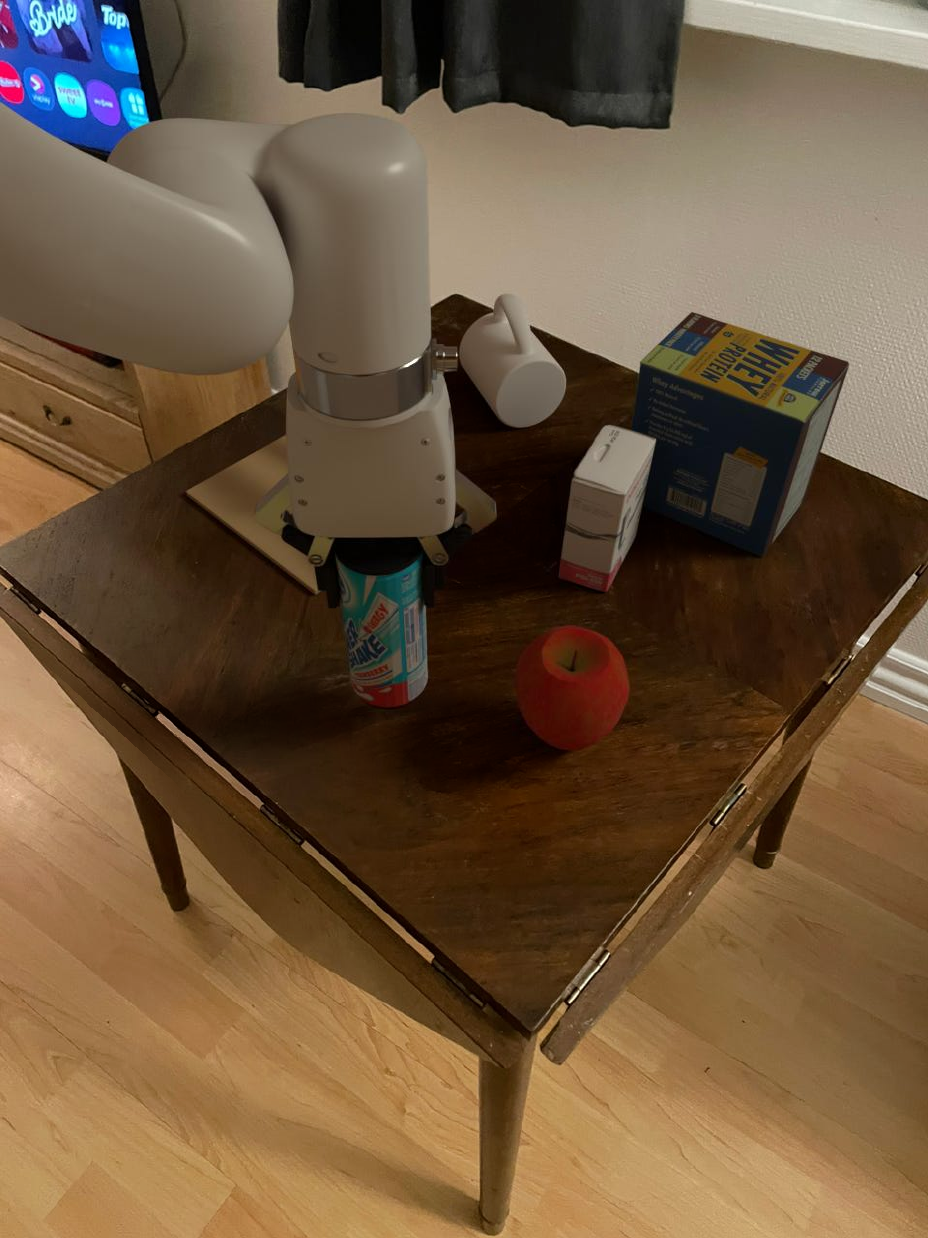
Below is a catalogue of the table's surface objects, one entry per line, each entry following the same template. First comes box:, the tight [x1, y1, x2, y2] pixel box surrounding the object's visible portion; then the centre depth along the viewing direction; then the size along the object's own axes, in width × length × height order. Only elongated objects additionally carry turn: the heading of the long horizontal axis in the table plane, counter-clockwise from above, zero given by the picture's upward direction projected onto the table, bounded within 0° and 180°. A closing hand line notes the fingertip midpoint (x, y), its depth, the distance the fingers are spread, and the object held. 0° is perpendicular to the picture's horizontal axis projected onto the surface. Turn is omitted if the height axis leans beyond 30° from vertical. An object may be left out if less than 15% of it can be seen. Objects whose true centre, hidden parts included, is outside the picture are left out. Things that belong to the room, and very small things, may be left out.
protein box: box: [630, 311, 850, 558], centre depth 86 cm, size 10×15×16 cm
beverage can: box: [334, 537, 429, 711], centre depth 67 cm, size 6×6×15 cm
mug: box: [458, 293, 567, 429], centre depth 99 cm, size 8×10×12 cm
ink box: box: [558, 424, 656, 593], centre depth 82 cm, size 9×5×12 cm, turn 155°
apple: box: [513, 624, 631, 752], centre depth 69 cm, size 9×8×11 cm
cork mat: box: [185, 434, 322, 595], centre depth 93 cm, size 20×20×1 cm
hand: (382, 591), depth 65 cm, fingers closed on beverage can, 5 cm apart
